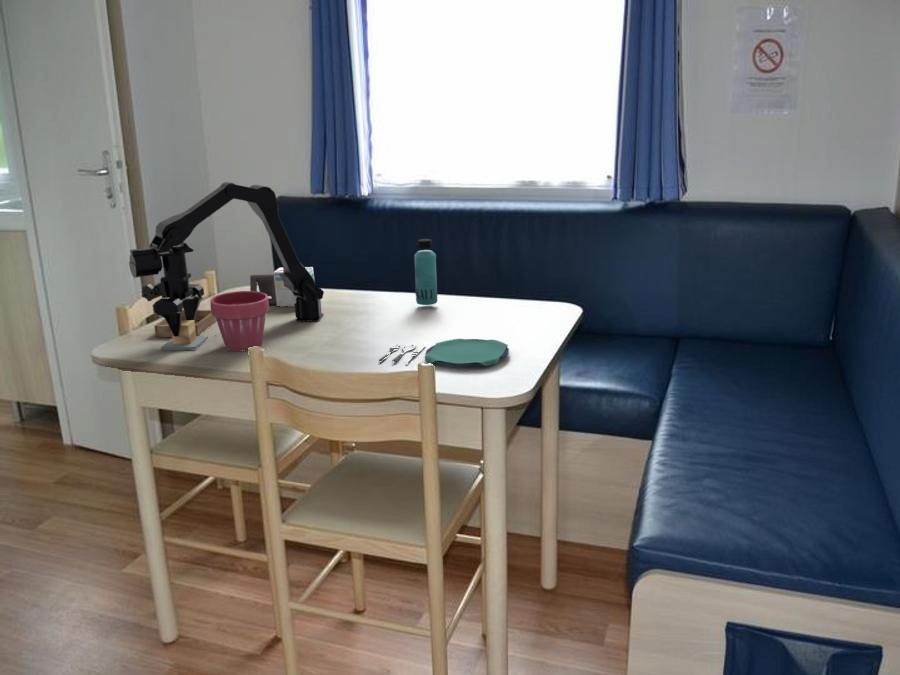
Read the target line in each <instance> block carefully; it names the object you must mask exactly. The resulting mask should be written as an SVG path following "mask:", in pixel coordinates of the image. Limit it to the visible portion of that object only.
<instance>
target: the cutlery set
mask: <svg viewBox="0 0 900 675" xmlns="http://www.w3.org/2000/svg"><path fill="white" fill-rule="evenodd" d="M508 345H509V344H507V343H505V342H503V341H500V340H498V339H497V340H496V339H479V338H455V339H454V338H453V339H449V340H443V341H439V342H436V343H435V344H434V345H432V346H431V347H429V348H427V349H426V351H425V355H424V360H425V363H427V364H428V363H431V364H433V363H437V364H440V365H444V366H454V367H473V366H481V365H484V366H485V367H487V366H491V365H495V364H497V363H498V361H500V360H502V359H504V358H506V357H507V356H508V355H509V350H510V348H509V347H508ZM394 349H398V348H392V347H389V351H388V352H392V351H393V350H394ZM398 350H399V349H398ZM392 353H393V352H392ZM413 353H418V352H417V351H414V352H413ZM413 353H411V356H412V355H416V354H413ZM388 355H389V354H388ZM388 355H387V353H386V354H385V355H383V356H381V358H379V359H378V362H379V361H382V360H383V359H384V358H385V357H387V356H388ZM401 355H402V354H401V353H399V354H398V355H396V356H395V357H394V358H393V359H392V360H391V361H392V363H393V361H394V362H396V361H397V360H398V361H399V359H401V357H402V356H403V355H402V356H401ZM400 356H401V357H400ZM398 361H397V362H398ZM397 362H396V363H397Z"/></svg>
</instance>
